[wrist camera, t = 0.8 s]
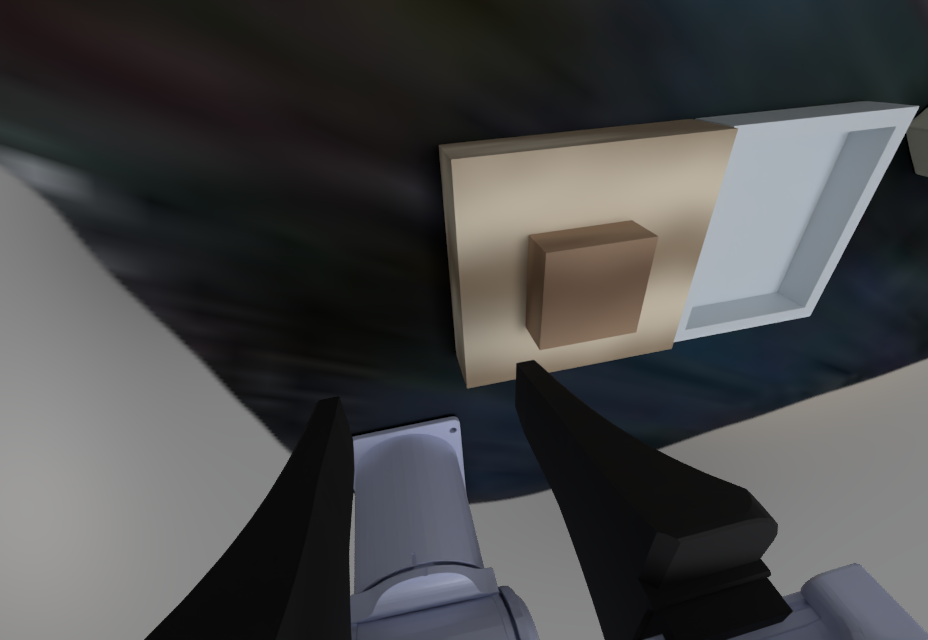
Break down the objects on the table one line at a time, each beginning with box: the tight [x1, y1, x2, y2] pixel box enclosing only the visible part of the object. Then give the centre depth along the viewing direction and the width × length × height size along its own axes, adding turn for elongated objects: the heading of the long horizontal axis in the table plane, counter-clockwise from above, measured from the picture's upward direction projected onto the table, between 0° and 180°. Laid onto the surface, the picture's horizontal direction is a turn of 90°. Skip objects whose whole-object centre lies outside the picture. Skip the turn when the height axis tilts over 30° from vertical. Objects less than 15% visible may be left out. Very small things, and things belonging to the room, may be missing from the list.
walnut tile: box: [525, 220, 659, 350], centre depth 19 cm, size 5×5×2 cm
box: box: [674, 101, 919, 342], centre depth 23 cm, size 12×10×2 cm
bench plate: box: [439, 119, 738, 388], centre depth 21 cm, size 12×12×3 cm
